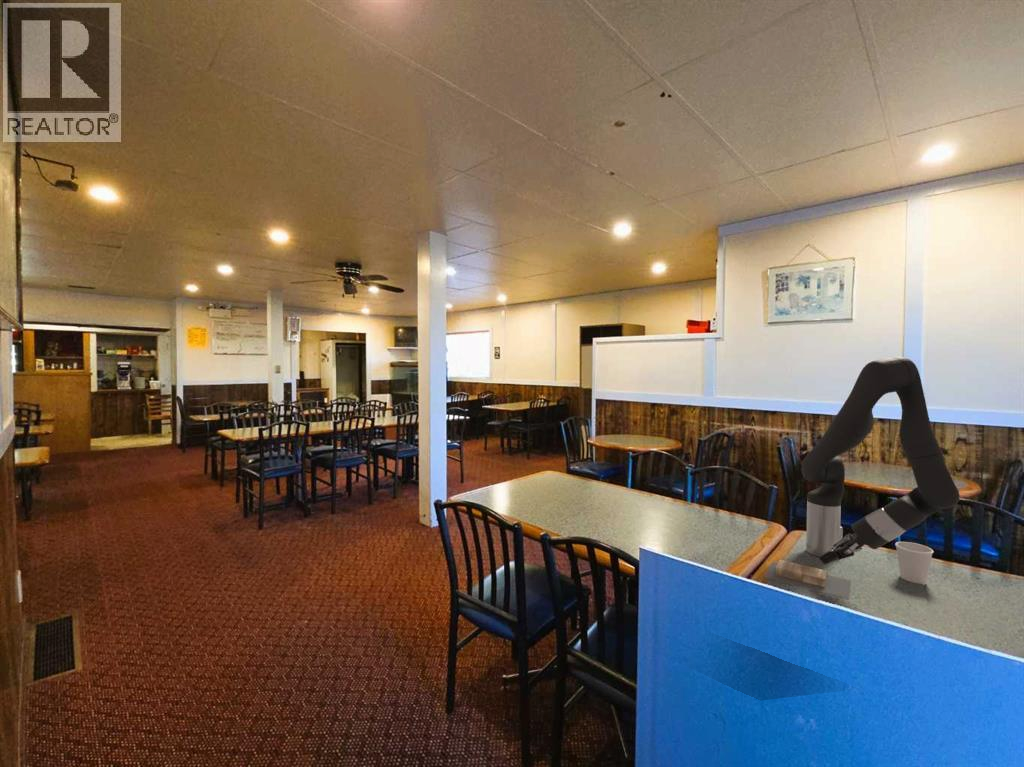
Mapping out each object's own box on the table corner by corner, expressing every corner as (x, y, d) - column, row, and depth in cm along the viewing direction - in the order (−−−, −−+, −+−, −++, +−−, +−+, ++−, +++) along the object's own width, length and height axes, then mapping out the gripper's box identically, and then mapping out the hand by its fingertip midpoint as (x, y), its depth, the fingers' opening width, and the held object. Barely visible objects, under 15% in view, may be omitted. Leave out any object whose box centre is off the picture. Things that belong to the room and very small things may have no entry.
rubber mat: (850, 582, 129) (850, 580, 129) (848, 601, 118) (848, 599, 118) (772, 563, 141) (772, 561, 141) (763, 578, 130) (763, 577, 130)
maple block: (827, 570, 129) (779, 559, 137) (825, 579, 124) (775, 567, 131) (826, 579, 129) (779, 567, 137) (824, 588, 124) (775, 575, 132)
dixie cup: (940, 588, 125) (941, 553, 125) (906, 585, 127) (907, 551, 126) (919, 575, 133) (920, 542, 133) (887, 572, 135) (888, 540, 134)
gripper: (866, 510, 126) (813, 542, 134) (865, 522, 116) (808, 556, 124) (890, 533, 123) (834, 564, 131) (892, 547, 112) (831, 580, 120)
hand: (822, 560), depth 127 cm, fingers closed
